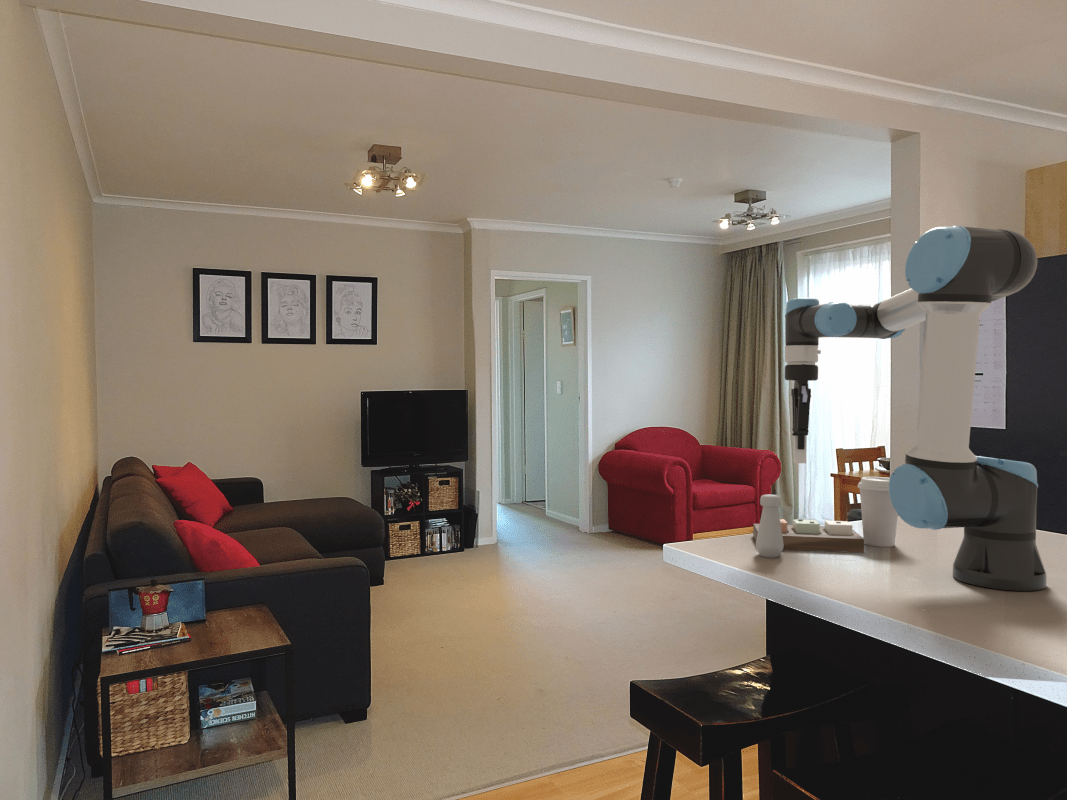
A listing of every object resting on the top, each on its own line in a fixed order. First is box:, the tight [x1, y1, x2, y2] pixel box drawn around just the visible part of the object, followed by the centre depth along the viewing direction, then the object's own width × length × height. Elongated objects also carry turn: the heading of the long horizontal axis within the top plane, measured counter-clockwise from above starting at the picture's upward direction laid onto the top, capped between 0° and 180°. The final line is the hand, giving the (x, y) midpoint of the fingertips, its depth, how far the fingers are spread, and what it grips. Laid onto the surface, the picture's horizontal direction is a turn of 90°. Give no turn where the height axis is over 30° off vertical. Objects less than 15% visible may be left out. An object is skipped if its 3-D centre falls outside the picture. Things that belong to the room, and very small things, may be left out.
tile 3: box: [780, 518, 788, 533], centre depth 181 cm, size 5×5×3 cm
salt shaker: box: [755, 493, 784, 559], centre depth 168 cm, size 6×6×13 cm
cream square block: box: [824, 520, 853, 535], centre depth 179 cm, size 5×5×3 cm
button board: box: [752, 523, 865, 553], centre depth 180 cm, size 14×22×3 cm, turn 80°
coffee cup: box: [857, 476, 899, 548], centre depth 180 cm, size 10×10×15 cm
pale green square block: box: [792, 519, 821, 534], centre depth 180 cm, size 5×5×3 cm
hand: (799, 462), depth 187 cm, fingers closed
